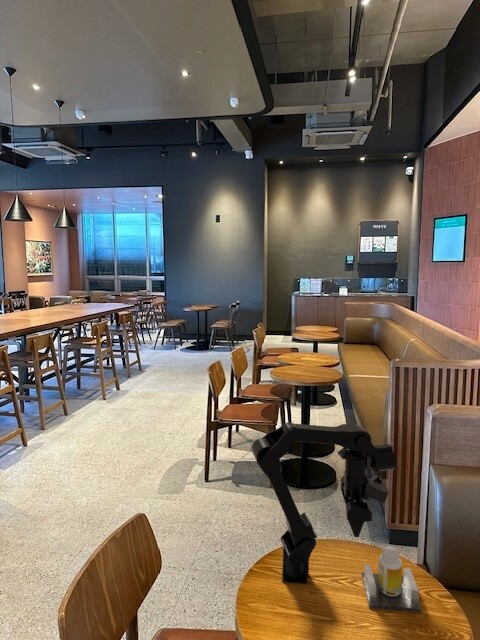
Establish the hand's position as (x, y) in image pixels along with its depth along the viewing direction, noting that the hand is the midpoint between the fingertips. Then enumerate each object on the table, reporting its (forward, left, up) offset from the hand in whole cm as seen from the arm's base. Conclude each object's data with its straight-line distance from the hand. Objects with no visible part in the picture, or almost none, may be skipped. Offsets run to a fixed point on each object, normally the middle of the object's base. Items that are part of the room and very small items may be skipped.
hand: (354, 526), depth 116 cm
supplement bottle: (+8, -9, -11) cm, 16 cm away
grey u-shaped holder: (+8, -9, -12) cm, 17 cm away
